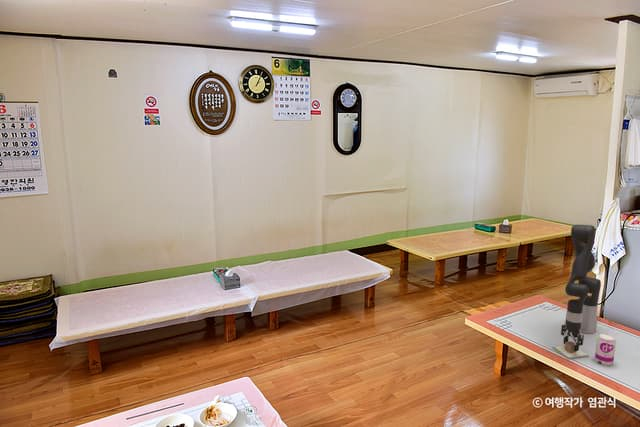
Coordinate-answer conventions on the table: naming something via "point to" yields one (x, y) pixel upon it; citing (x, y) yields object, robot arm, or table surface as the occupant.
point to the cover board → (571, 355)
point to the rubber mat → (569, 358)
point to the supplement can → (605, 349)
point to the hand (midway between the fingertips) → (570, 347)
